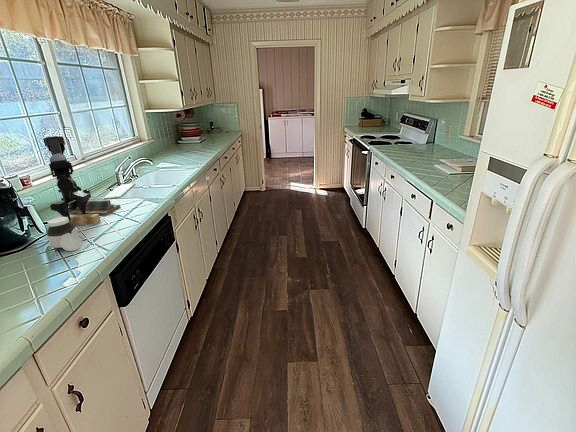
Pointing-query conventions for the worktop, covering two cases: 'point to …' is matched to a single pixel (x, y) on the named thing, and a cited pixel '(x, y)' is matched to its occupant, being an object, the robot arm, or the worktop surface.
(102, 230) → the worktop surface
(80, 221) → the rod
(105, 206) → the ridge stand
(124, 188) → the baseboard molding
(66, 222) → the spread jar
